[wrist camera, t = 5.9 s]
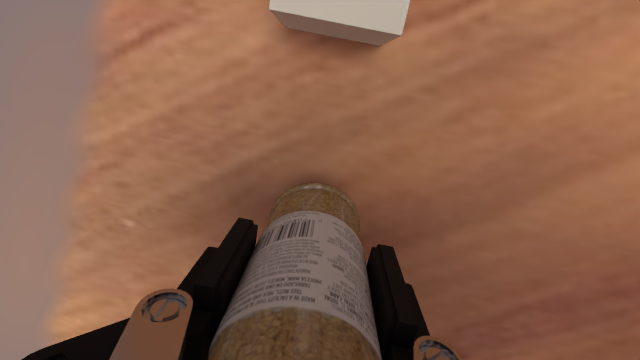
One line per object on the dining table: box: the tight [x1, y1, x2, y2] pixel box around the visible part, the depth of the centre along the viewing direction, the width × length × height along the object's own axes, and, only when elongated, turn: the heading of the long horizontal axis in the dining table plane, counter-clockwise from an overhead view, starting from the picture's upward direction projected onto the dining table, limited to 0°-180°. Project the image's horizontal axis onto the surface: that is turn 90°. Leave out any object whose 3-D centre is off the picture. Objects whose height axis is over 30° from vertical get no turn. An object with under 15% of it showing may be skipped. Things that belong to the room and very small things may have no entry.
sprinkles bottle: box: [208, 182, 382, 360], centre depth 9 cm, size 5×5×13 cm
